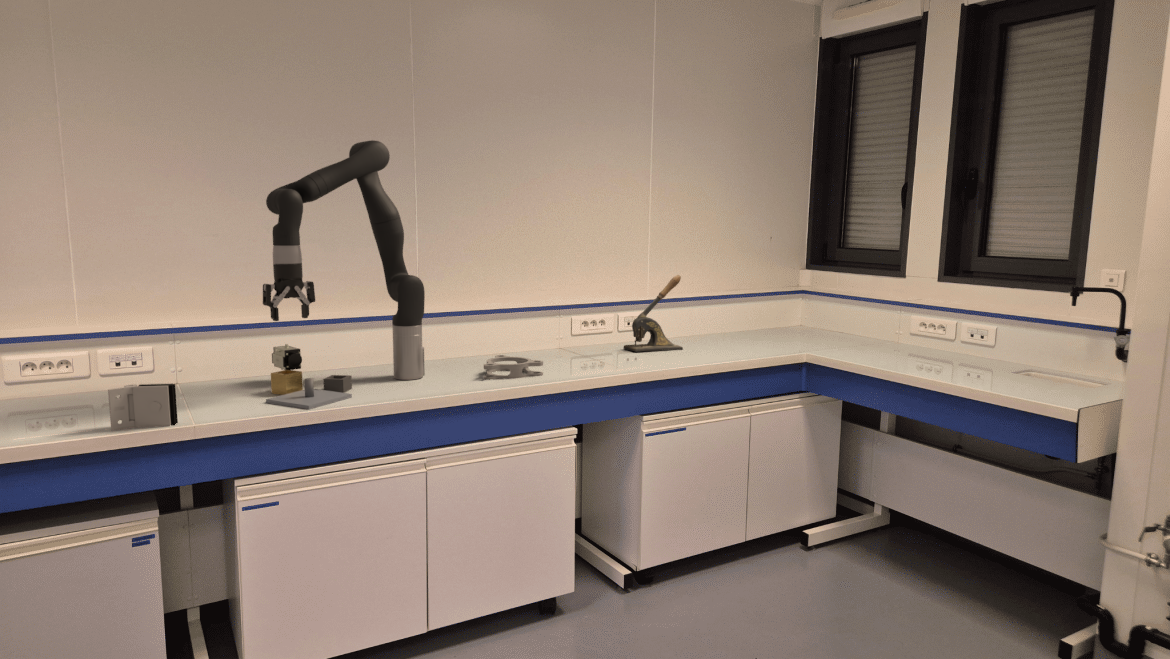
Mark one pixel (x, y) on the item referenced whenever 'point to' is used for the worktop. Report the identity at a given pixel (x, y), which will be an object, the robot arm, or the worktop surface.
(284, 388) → the brass collar
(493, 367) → the mechanical component
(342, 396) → the post block
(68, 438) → the worktop surface
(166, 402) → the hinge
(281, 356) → the pneumatic valve
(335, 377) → the grey hollow square block
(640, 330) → the embossing press
